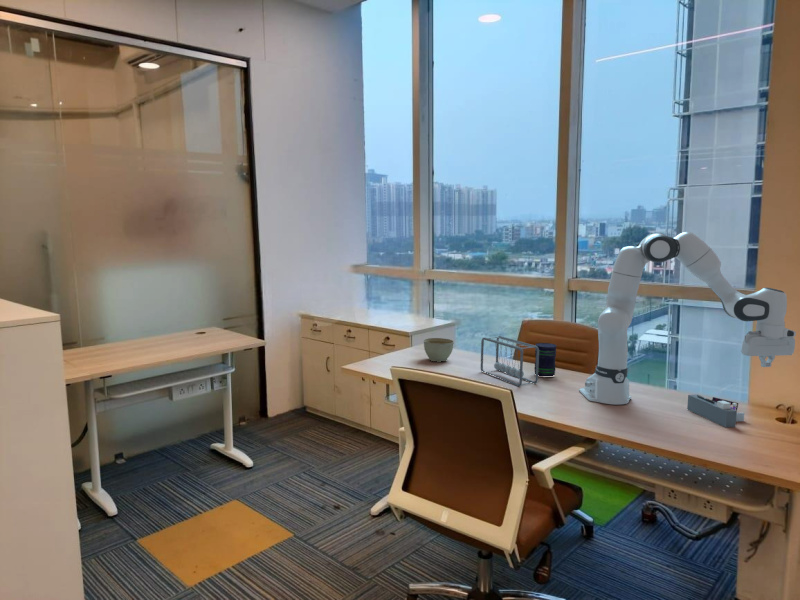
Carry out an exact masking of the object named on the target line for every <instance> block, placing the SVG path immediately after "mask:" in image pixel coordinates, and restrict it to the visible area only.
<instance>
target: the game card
mask: <svg viewBox="0 0 800 600" xmlns="http://www.w3.org/2000/svg"><path fill="white" fill-rule="evenodd" d="M711 400H712V401H714V402H717V401H726V402H729V403H731V406H730V408H731V409H734V410H736V411H737V412H738V408H739V402H736V401H732V400H727V399H722V398H718V397H712V399H711Z"/></svg>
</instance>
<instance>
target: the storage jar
mask: <svg viewBox="0 0 800 600" xmlns="http://www.w3.org/2000/svg"><path fill="white" fill-rule="evenodd" d="M535 346H537V347H538V348H539V367H538V375H539V376H553V375H555V374H556V358H557V344H554V343H550V342H549V343H548V342H538V343H535ZM534 352H535V354H534V356H535V357H536V355H537V350H536V348H534ZM533 368H534V369H533V370H534V373H535V374H536V360H535V363H534V367H533ZM555 376H556V375H555Z"/></svg>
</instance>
